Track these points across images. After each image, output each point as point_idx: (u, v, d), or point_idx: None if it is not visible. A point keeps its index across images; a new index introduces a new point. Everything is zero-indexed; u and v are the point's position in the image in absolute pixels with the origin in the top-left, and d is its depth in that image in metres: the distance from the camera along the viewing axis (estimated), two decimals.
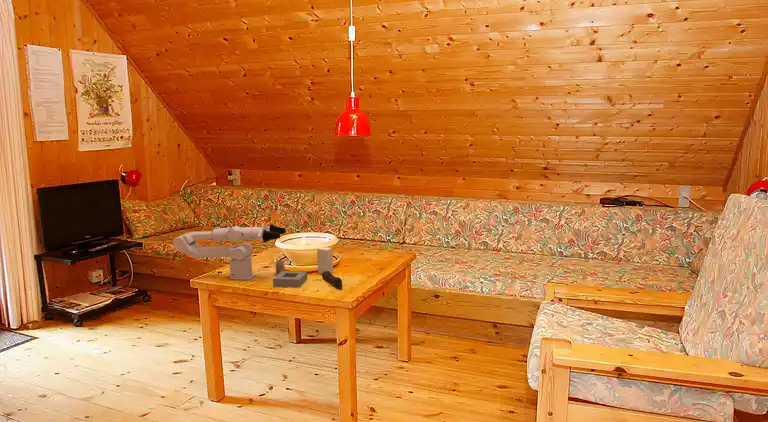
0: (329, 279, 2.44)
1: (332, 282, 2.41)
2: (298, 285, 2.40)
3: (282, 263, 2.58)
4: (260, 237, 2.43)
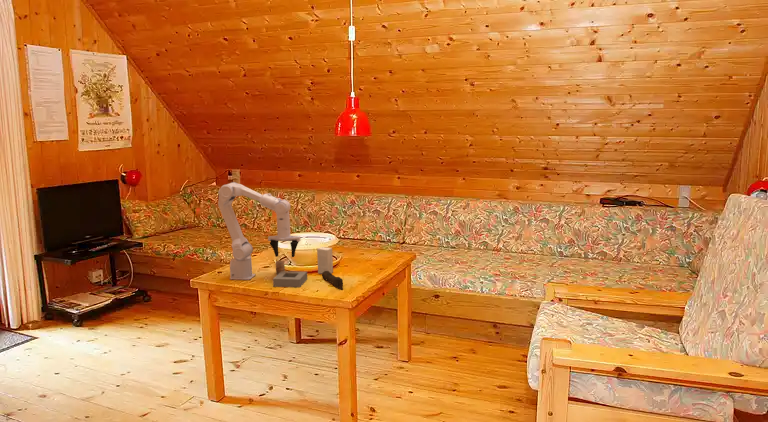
0: (329, 279, 2.44)
1: (332, 282, 2.41)
2: (298, 285, 2.40)
3: (282, 263, 2.58)
4: None
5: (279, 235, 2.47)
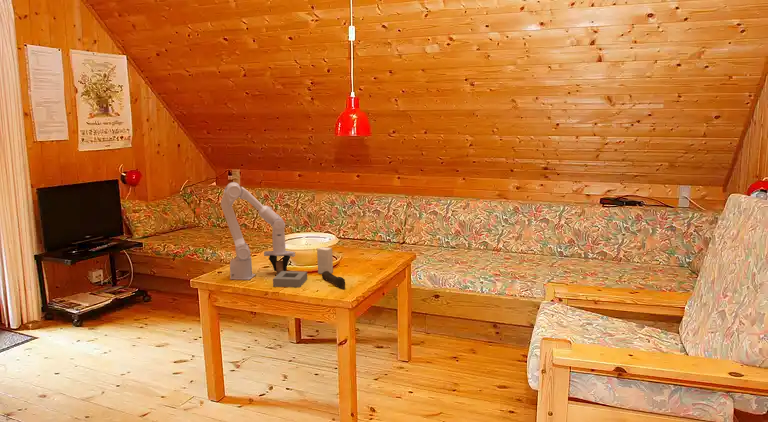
0: (330, 279, 2.44)
1: (334, 282, 2.41)
2: (298, 285, 2.40)
3: (282, 263, 2.58)
4: None
5: (274, 250, 2.56)
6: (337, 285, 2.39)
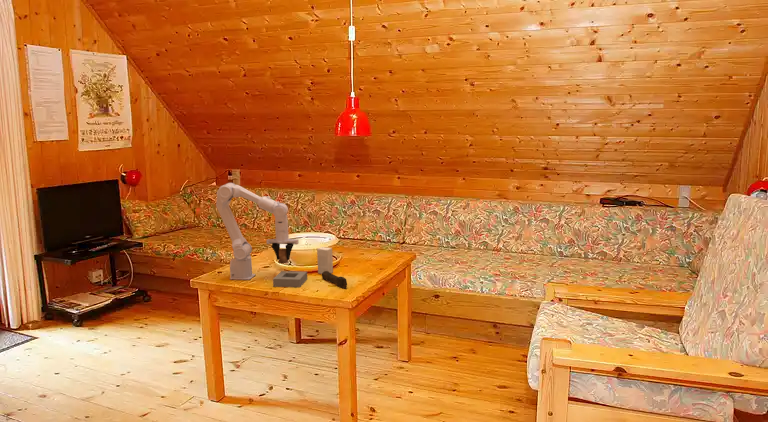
0: (331, 279, 2.44)
1: (335, 281, 2.41)
2: (298, 285, 2.40)
3: (285, 251, 2.52)
4: None
5: (277, 238, 2.50)
6: (338, 285, 2.39)
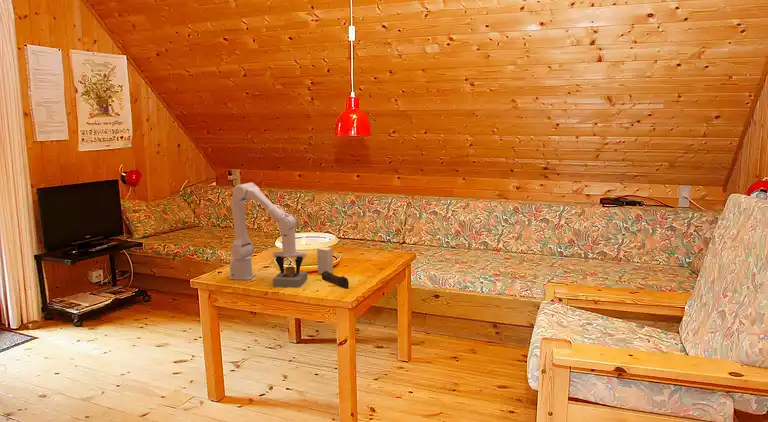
0: (332, 279, 2.44)
1: (336, 281, 2.41)
2: (298, 285, 2.40)
3: (292, 269, 2.44)
4: None
5: (284, 252, 2.42)
6: (340, 284, 2.39)
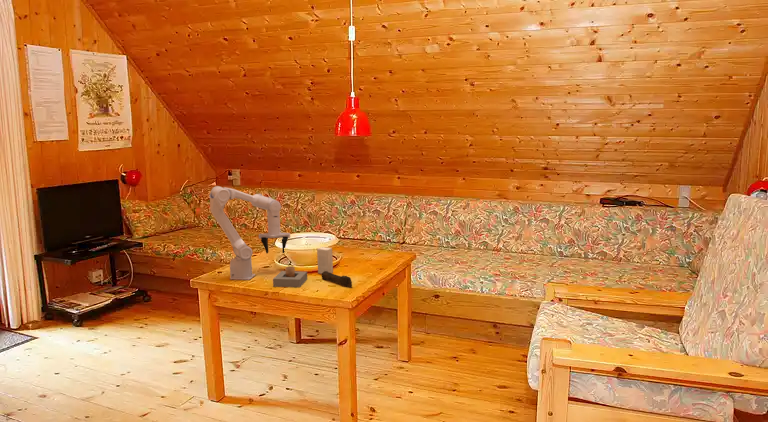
0: (333, 278, 2.44)
1: (338, 281, 2.42)
2: (298, 285, 2.40)
3: (292, 269, 2.44)
4: (259, 237, 2.60)
5: (270, 232, 2.58)
6: (342, 284, 2.40)
